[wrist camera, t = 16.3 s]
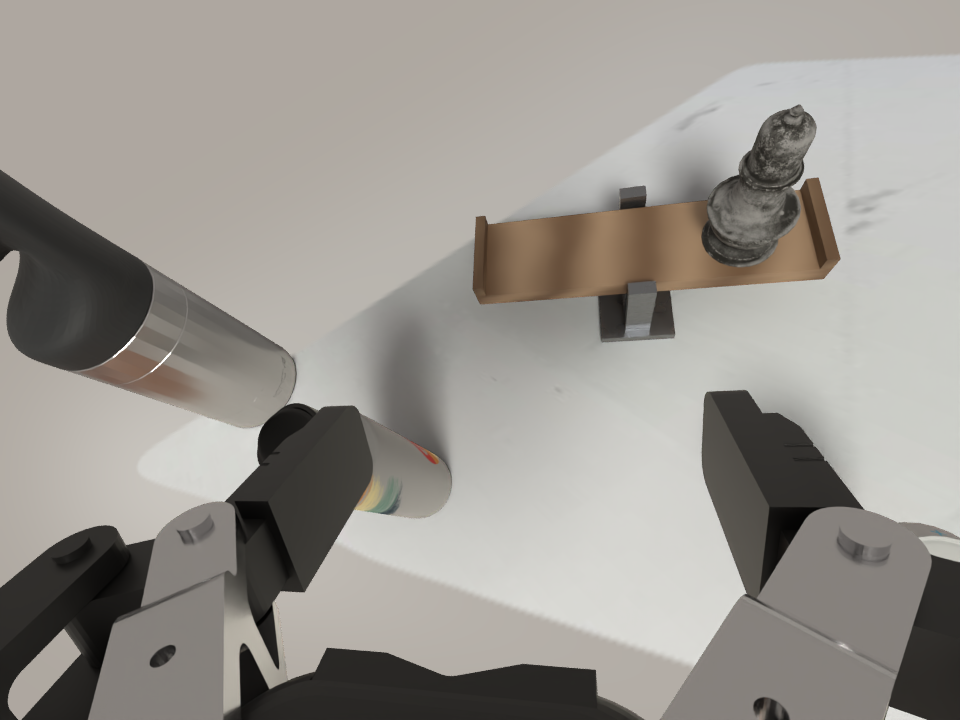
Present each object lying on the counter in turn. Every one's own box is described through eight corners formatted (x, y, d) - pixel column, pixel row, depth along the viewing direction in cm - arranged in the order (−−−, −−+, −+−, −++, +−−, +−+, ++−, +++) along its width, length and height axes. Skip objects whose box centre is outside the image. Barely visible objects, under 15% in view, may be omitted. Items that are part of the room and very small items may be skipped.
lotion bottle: (409, 442, 44) (271, 368, 26) (463, 467, 42) (355, 406, 24) (380, 502, 42) (213, 468, 24) (435, 530, 40) (297, 516, 22)
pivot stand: (602, 342, 43) (601, 304, 36) (595, 238, 47) (594, 186, 40) (673, 338, 41) (687, 297, 35) (661, 231, 45) (670, 176, 39)
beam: (480, 304, 41) (472, 289, 39) (482, 235, 44) (476, 216, 41) (823, 278, 35) (840, 258, 33) (804, 201, 38) (818, 177, 36)
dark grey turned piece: (682, 224, 38) (717, 94, 27) (754, 193, 38) (818, 48, 27) (723, 283, 36) (778, 165, 25) (799, 250, 35) (891, 116, 24)
